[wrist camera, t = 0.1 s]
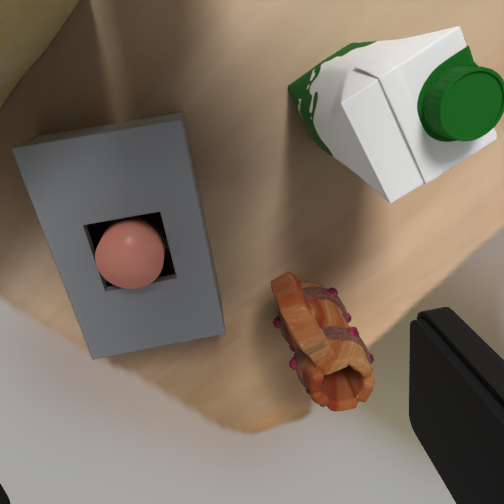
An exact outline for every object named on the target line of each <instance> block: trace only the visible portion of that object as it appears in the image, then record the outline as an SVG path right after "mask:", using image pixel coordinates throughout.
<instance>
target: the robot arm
mask: <svg viewBox="0 0 504 504" xmlns="http://www.w3.org/2000/svg"><path fill="white" fill-rule="evenodd" d="M409 375H410V376H409V381H410V382H409V383H410V384H409V417H410V422H411V425H412V428H413V430H414V432H415V434H416V436H417V437H418V439H419V441H420V442H421V444H422V446H423V447H424V449H425V451H426V453H427V454H428V456H429V458H430V459H431V461H432V463H433V464H434V466H435V468H436V470H437V471H438V473H439V475H440V476H441V478H442V480H443V481H444V483H445V485H446V487H447V488H448V490H449V492H450V493H451V495H452V497H453V499H454V500H455V502H456V504H504V360H503V359H502V358H501V357H500V356H499V355H498V354H497V353H496V352H495V351H494V350H493V349H492V348H490V346H488V345H487V343H485V342H484V341H483V340H482V339H481V338H480V337H479V336H478V335H477V334H476V333H475V332H474V331H473V330H472V329H471V328H470V327H469V326H468V325H467V324H466V323H465V322H464V321H463V320H462V319H461V318H460V317H459V316H458V315H457V314H456V313H455V312H454V311H453V310H451V309H450V308H449V307H442V308H437V309H432V310H427V311H422V312H420V313H419V314H418V316H417V320H413V321H412V322H411V324H410V374H409ZM0 504H10V500H9V498H8V496H7V494H6V492H5V491H4V489H3V487H2V486H1V484H0Z"/></svg>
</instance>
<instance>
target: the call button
mask: <svg viewBox="0 0 504 504" xmlns="http://www.w3.org/2000/svg"><path fill="white" fill-rule="evenodd" d="M164 255H165V241H164V238H163V236H162V234H161V232H160V231H159V229H158V228H157V227H156V226H155V225H153V224H152V223H150V222H148V221H147V220H144V219H141V218H135V217H128V218H123V219H120V220H117V221H115V222H114V223H112V224H111V225H110V226H109V227H108V228H107V229H106V231H105V232H104V234H103V236H102V238H101V240H100V242H99V244H98V246H97V249H96V252H95V262H96V266H97V268H98V270H99V272H100V274H101V275H102V276H103V277H104V278H105V279H106V280H107V281H108V282H110V283H112V284H113V285H115V286H118V287H121V288H127V289H136V288H141V287H144V286H146V285H148V284H150V283H152V282H153V281H154V280H155V279H156V278H157V277H158V276H159V274H160V272H161V270H162V267H163V262H164Z"/></svg>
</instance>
